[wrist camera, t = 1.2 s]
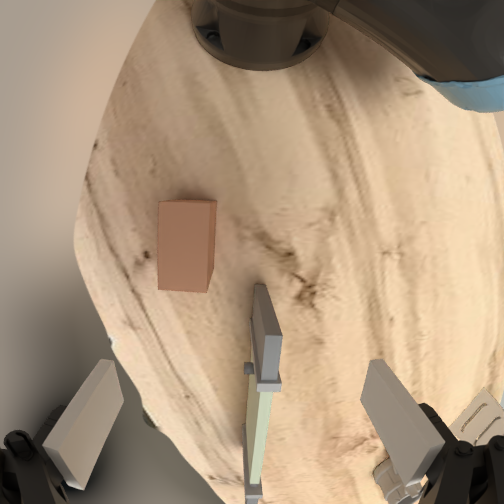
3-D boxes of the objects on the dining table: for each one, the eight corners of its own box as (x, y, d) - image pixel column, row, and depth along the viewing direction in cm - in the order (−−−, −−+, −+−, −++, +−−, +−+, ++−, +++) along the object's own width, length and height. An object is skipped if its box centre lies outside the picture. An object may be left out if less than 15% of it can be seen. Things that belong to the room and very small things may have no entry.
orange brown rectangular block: (178, 199, 30) (158, 201, 22) (216, 200, 30) (210, 203, 22) (176, 266, 31) (157, 289, 23) (213, 268, 31) (206, 292, 23)
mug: (372, 482, 41) (391, 524, 30) (369, 453, 39) (393, 503, 27) (407, 466, 41) (429, 506, 29) (408, 435, 39) (438, 480, 27)
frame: (251, 284, 32) (261, 337, 20) (268, 284, 32) (287, 338, 20) (240, 447, 37) (243, 514, 24) (252, 447, 37) (258, 513, 25)
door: (243, 329, 32) (247, 388, 21) (261, 329, 32) (273, 389, 22) (237, 424, 35) (239, 487, 24) (252, 424, 35) (258, 487, 24)
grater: (464, 437, 41) (508, 491, 22) (447, 428, 40) (497, 492, 20) (496, 400, 40) (547, 449, 21) (483, 387, 39) (543, 442, 19)
